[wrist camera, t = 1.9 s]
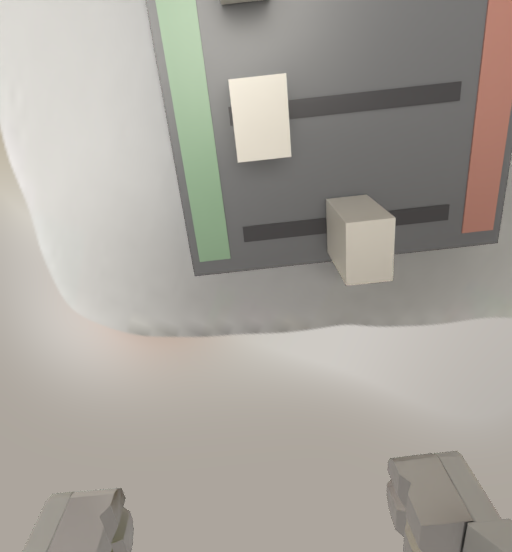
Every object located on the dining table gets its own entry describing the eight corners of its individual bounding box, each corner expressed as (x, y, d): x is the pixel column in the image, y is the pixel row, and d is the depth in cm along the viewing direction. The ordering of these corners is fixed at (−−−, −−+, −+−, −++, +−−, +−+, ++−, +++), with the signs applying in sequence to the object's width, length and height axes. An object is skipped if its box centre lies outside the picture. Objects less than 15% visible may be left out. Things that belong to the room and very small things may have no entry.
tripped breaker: (366, 194, 25) (395, 217, 20) (365, 247, 26) (392, 280, 22) (325, 199, 25) (345, 223, 20) (327, 252, 26) (346, 285, 22)
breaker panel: (516, -112, 22) (558, -142, 19) (473, 228, 30) (498, 243, 27) (142, -71, 22) (128, -95, 19) (198, 259, 30) (194, 276, 27)
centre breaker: (276, 76, 22) (286, 73, 18) (280, 143, 24) (291, 156, 19) (229, 81, 22) (228, 79, 18) (237, 148, 24) (237, 162, 19)
